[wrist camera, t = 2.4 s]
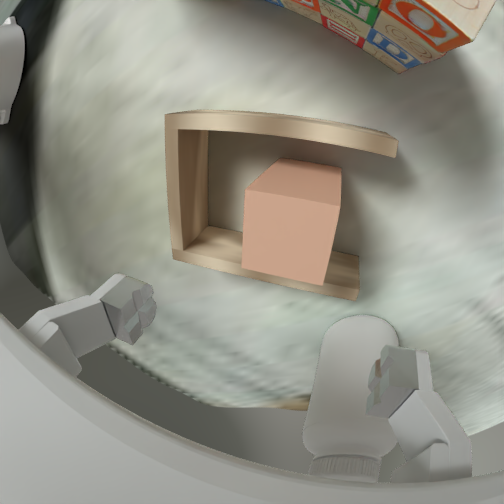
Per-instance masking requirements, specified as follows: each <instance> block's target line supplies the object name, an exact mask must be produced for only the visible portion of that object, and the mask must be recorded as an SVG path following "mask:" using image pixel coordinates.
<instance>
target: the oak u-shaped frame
mask: <svg viewBox="0 0 504 504" xmlns="http://www.w3.org/2000/svg"><path fill="white" fill-rule="evenodd" d="M208 130H217V131H233V132H245V133H256V134H266V135H275V136H283V137H291V138H298V139H305V140H311V141H317V142H323V143H329V144H334V145H340V146H345V147H350V148H355V149H359V150H364V151H368V152H373V153H377V154H381V155H385V156H389V157H393V158H396V152H397V147H398V140H397V139H395V138H394V137H392V136H390V135H389V134H387V133H385V132H381V131H377V130H373V129H368V128H364V127H359V126H354V125H349V124H344V123H339V122H333V121H327V120H321V119H315V118H308V117H300V116H292V115H284V114H274V113H263V112H250V111H231V110H191V111H184V112H177V113H170V114H165V156H166V179H167V196H168V210H169V222H170V233H171V244H172V253H173V259H174V260H178V261H182V262H186V263H190V264H194V265H198V266H202V267H206V268H210V269H215V270H219V271H223V272H227V273H231V274H235V275H240V276H244V277H248V278H252V279H257V280H261V281H265V282H270V283H274V284H278V285H283V286H287V287H292V288H296V289H301V290H305V291H310V292H315V293H319V294H324V295H329V296H333V297H338V298H343V299H348V300H352V301H356V299H357V296H358V293H359V290H360V282H359V256H355V255H350V254H345V253H341V252H336V251H331V254H330V258H329V262H328V266H327V270H326V274H325V278H324V282H323V286H321V285H316V284H311V283H307V282H302V281H298V280H293V279H288V278H284V277H279V276H275V275H270V274H266V273H262V272H257V271H253V270H248V269H244V268H241V265H242V243H243V232H238V231H233V230H228V229H222V228H217V227H212V226H208Z"/></svg>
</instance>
